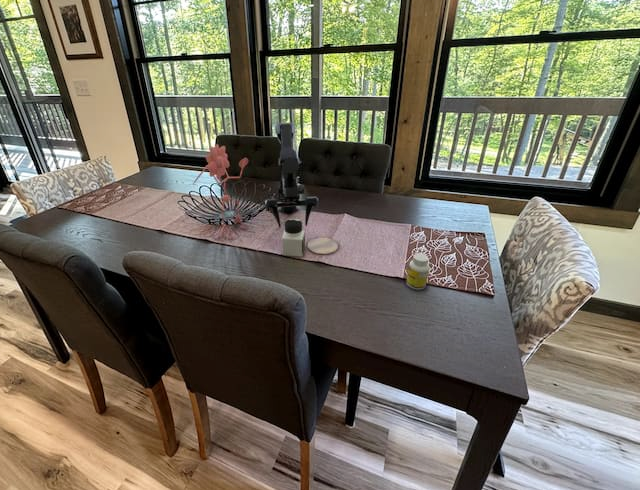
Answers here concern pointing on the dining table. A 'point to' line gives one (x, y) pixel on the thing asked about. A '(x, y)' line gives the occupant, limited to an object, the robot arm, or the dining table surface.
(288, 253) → the medicine bottle
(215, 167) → the figurine
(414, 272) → the supplement bottle
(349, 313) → the dining table surface
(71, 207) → the dining table surface
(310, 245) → the coaster
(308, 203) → the robot arm
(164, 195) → the dining table surface
